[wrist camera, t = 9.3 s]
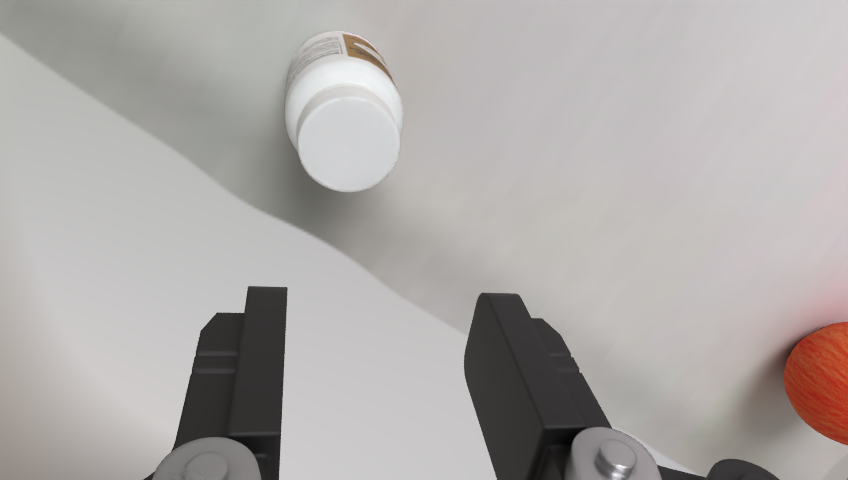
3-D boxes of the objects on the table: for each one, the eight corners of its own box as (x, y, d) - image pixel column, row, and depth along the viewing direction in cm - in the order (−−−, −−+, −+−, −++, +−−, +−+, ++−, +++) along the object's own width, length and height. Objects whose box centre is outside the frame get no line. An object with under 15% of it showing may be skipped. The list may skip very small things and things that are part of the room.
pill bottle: (405, 98, 27) (436, 168, 21) (321, 144, 28) (326, 226, 21) (357, 9, 25) (376, 55, 19) (267, 60, 26) (254, 123, 19)
